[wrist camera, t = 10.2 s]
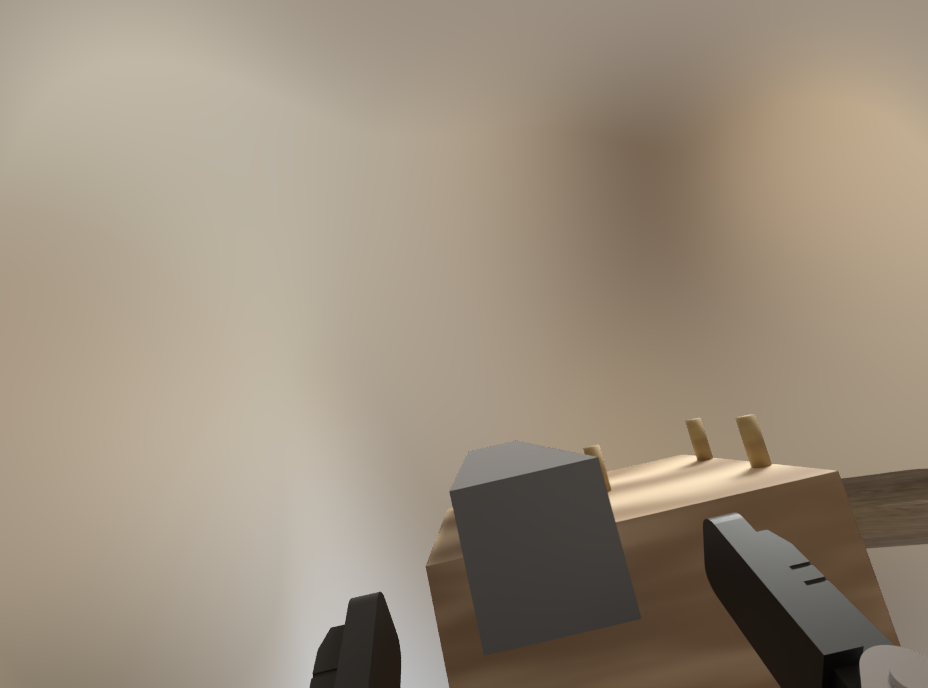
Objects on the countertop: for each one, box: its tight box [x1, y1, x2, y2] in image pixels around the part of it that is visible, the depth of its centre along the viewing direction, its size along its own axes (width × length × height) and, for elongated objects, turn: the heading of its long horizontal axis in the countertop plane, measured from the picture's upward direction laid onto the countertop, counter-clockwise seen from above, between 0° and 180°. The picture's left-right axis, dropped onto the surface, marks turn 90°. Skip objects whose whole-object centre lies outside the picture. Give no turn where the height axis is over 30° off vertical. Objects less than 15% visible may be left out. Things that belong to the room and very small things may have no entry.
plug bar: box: [450, 441, 641, 656], centre depth 23 cm, size 24×4×4 cm, turn 178°
